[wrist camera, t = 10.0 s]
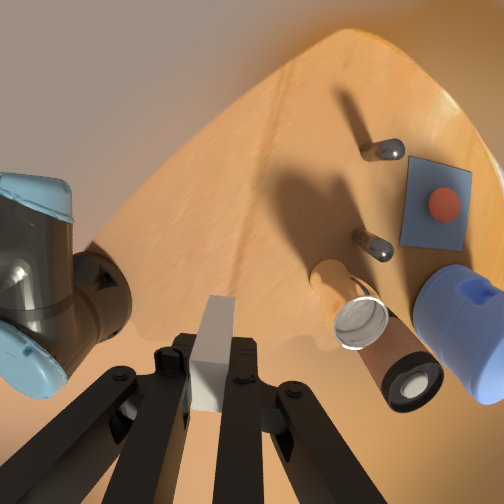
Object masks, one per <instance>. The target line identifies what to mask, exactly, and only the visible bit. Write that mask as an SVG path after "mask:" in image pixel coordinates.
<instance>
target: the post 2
mask: <svg viewBox="0 0 504 504" xmlns="http://www.w3.org/2000/svg"><path fill="white" fill-rule="evenodd" d="M352 240H353V242H354V243H355V244H356V245H357V246H359V247H360V248H362V249H363V250H364V251H366V252H367V253H369V254H370V255H371V256H373V257H374V258H376V259H377V260H378V261H380V262H387V261H389V260H390V259H391V258H392V256H393V253H394V249H393V246H392V244H391V243H389V242H387V241H385V240H383V239H382V238H380V237H378V236H376V235H374V234H372V233H370V232H368V231H366V230H364V229H362V228H360V229H357V230H355V231H354V233H353V235H352Z"/></svg>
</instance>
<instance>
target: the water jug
mask: <svg viewBox="0 0 504 504" xmlns="http://www.w3.org/2000/svg"><path fill="white" fill-rule="evenodd" d="M413 325H414V329H415V331H416V333H417V335H418V336H419V338H420V339H421V340H422V341H423V342H424V343H426V344H427V345H428V346H429V347H430V348H431V349H432V350H433V351H434V353H435V354H436V355H437V356H438V358H439V359H440V360H441V362H442V363H443V364H444V365H445V366H446V367H447V368H449V369H450V370H451V371H452V372H453V374H454V375H455V376H456V377H457V378H458V379H459V380H460V382H461V383H462V384H463V386H464V387H465V389H466V390H467V391H468V393H469V394H470V395H471V396H472V397H474V398H475V399H476V400H477V401H478V402H479V403H481V404H485V405H486V404H487V405H488V404H493V403H496V402H498V401H500V400H502V399H503V398H504V292H503V291H502V290H500V289H498V288H496V287H495V286H493V285H492V284H491V282H490V281H489V280H488V279H486V278H485V277H483V276H481V275H479V274H477V273H475V272H474V271H473V270H471V269H470V268H468V267H466V266H463V265H459V264H453V265H448V266H445V267H443V268H441V269H440V270H438V271H437V272H435V273H434V274H433V275H432V276H431V277H430V278H429V279H428V280H427V281H426V283H425V284H424V285H423V287H422V289H421V290H420V292H419V294H418V296H417V299H416V302H415V305H414V310H413Z"/></svg>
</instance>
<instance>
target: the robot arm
mask: <svg viewBox="0 0 504 504" xmlns="http://www.w3.org/2000/svg"><path fill="white" fill-rule="evenodd" d="M73 223H74V219H73V218H72V192H71V188H70V186H69V185H68V184H67V183H66V182H65V181H63V180H61V179H57V178H50V177H42V176H32V175H25V174H15V173H4V172H0V376H1V377H2V378H3V379H4V380H5V381H6V382H7V383H8V384H9V385H11V386H12V387H13V388H15V389H16V390H17V391H19V392H20V393H22V394H24V395H26V396H28V397H31V398H34V399H38V400H46V399H50V398H52V397H53V396H54V395H55V394H56V393H57V392H58V391H59V390H60V389H61V388H62V387H64V386H65V385H66V384H67V381H68V380H69V378H70V377H71V376H72V374H73V373H74V372H75V370H76V369H77V368H78V367H79V365H80V364H81V363H82V361H83V360H84V359H85V357H86V356H87V355H88V354H89V352H90V351H91V350H92V348H93V347H94V346H95V345H96V344H99V343H101V342H103V341H106V340H108V339H110V338H113V337H114V336H116V335H117V334H118V333H119V332H120V331H121V330H122V329H123V328H124V326H125V325H126V323H127V322H128V320H129V318H130V315H131V311H132V297H131V292H130V289H129V286H128V284H127V281H126V280H125V278H124V276H123V275H122V273H121V272H120V270H119V269H118V268H117V267H116V266H115V265H114V264H113V263H112V262H111V261H109V260H108V259H107V258H105V257H103V256H101V255H99V254H96V253H92V252H79V253H76V254H74V255H73V254H72V225H73ZM235 301H236V297H227V296H214V295H210V296H209V299H208V302H207V305H206V308H205V311H204V314H203V318H202V321H201V324H200V327H199V330H198V333H197V334H187V333H181V334H179V335H178V336H177V337H175V339H174V341H173V344H172V346H171V347H163V348H160V349H158V350H156V351H155V353H154V359H155V367H156V370H155V372H154V373H153V374H148V375H136V372H135V371H134V369H132V368H130V367H128V366H115V367H112V368H110V369H109V370H107V371H106V372H105V373H104V374H103V375H102V376H100V377H99V378H98V379H97V380H96V381H95V382H94V383H93V384H92V385H90V386H89V387H88V388H87V389H86V390H85V391H84V392H83V393H82V394H80V395H79V396H78V397H77V398H76V399H75V400H74V401H73V402H71V403H70V404H69V405H68V406H67V407H66V408H65V409H64V410H62V411H61V412H60V413H59V414H58V415H57V416H56V417H55V418H54V419H52V420H51V421H50V422H49V423H48V424H47V425H46V426H45V427H44V428H42V429H41V430H40V431H39V432H38V433H37V434H36V435H35V436H34V437H32V438H31V439H30V440H29V441H28V442H27V443H26V444H25V445H24V446H23V447H22V448H20V449H19V450H18V451H17V452H16V453H15V454H14V455H13V456H11V458H9V459H8V460H7V461H6V462H5V463H4V464H3V465H2V466H1V467H0V504H80V503H81V502H82V501H83V500H84V498H85V497H86V496H87V495H88V493H89V492H90V491H91V489H92V488H93V487H94V486H95V485H96V483H97V482H98V481H99V480H100V478H101V477H102V476H103V475H104V473H105V472H106V471H107V470H108V468H109V467H110V466H111V465H112V463H113V462H114V461H115V460H116V458H117V457H118V455H119V454H120V456H119V459H118V461H117V464H116V466H115V469H114V472H113V474H112V476H111V479H110V482H109V484H108V487H107V490H106V492H105V495H104V498H103V500H102V503H101V504H173V499H174V493H175V488H176V483H177V478H178V474H179V469H180V464H181V459H182V454H183V450H184V445H185V440H186V435H187V431H188V426H189V422H190V406H191V405H192V410H201V411H211V412H222V416H221V426H220V434H219V444H218V453H217V462H216V472H215V482H214V491H213V501H212V504H264V485H263V460H262V432H261V431H263V432H266V433H270V437H271V439H272V442H273V444H274V446H275V449H276V451H277V454H278V456H279V458H280V460H281V463H282V465H283V467H284V469H285V472H286V474H287V476H288V479H289V481H290V483H291V485H292V487H293V490H294V492H295V494H296V496H297V498H298V501H299V503H300V504H387V502H386V501H385V499H384V498H383V496H382V495H381V493H380V492H379V491H378V489H377V488H376V486H375V485H374V483H373V482H372V480H371V479H370V477H369V476H368V475H367V473H366V472H365V470H364V469H363V467H362V466H361V464H360V463H359V461H358V460H357V458H356V457H355V455H354V454H353V452H352V451H351V450H350V448H349V446H348V445H347V444H346V442H345V441H344V439H343V438H342V436H341V435H340V433H339V432H338V430H337V429H336V427H335V426H334V424H333V423H332V421H331V419H330V418H329V416H328V415H327V413H326V412H325V410H324V409H323V407H322V406H321V404H320V403H319V401H318V400H317V398H316V397H315V395H314V394H313V392H312V390H311V389H310V388H309V387H308V386H307V385H306V384H304V383H302V382H298V381H287V382H283V383H282V384H280V385H279V387H275V386H271V385H268V384H266V383H264V382H263V381H261V380H260V378H259V377H258V366H257V343H256V342H255V341H254V340H253V338H244V337H234V319H235Z"/></svg>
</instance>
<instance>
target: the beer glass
mask: <svg viewBox="0 0 504 504" xmlns="http://www.w3.org/2000/svg"><path fill="white" fill-rule="evenodd" d="M310 285H311V288H312V289H313V291H314V292H315V293H316V294H317V295H318V296H319V303H320V309H321V313H322V316H323V319H324V321H325V323H326V325H327V327H328V328H329V330H330V331H331V333H332V334H333V336H334V337H335V339H336V341H337V342H338V343H339V344H340V345H341V346H343V347H345V348H348V349H362V348H365V347H368V346H370V345H372V344H373V343H375V342H376V341H377V340H378V339H379V338H380V337H381V336H382V335H383V333H384V331H385V330H386V327H387V324H388V320H389V314H388V309H387V307H386V305H385V304H384V303H383V302H382V300H381V299H380V297H379V296H378V295H377V293H376V292H375V291H374V290H373V289H372V288H371V287H370V286H369V285H368V284H367V283H366V282H365V281H363V280H361V279H360V278H358V277H356V276H354V275H351V274H349V273H348V270H347V268H346V267H345V265H344V264H343V263H341V262H340V261H337V260H334V259H328V260H324V261H322V262H320V263H318V264H317V265H316V266H315V267H314V269H313V270H312V272H311V275H310Z"/></svg>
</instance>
